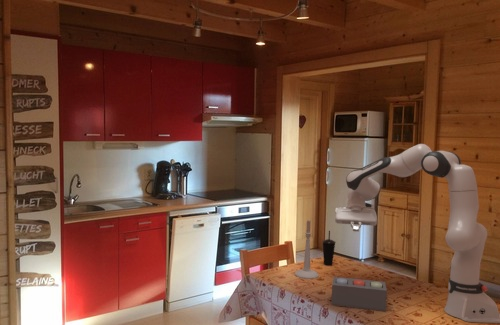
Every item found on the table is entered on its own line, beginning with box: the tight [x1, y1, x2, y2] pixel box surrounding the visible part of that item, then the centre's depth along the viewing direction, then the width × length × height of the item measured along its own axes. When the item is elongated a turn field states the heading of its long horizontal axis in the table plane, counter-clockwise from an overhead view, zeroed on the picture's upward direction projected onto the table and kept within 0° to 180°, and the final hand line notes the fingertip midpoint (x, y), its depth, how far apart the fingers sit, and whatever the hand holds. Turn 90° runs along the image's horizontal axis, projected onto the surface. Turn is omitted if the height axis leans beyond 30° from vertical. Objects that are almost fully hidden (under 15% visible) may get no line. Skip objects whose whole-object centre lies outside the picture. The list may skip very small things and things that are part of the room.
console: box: [330, 276, 388, 312], centre depth 192 cm, size 23×12×9 cm, turn 76°
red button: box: [353, 279, 365, 286], centre depth 192 cm, size 5×5×4 cm
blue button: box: [336, 277, 347, 284], centre depth 194 cm, size 5×5×4 cm
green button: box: [371, 282, 382, 288], centre depth 190 cm, size 5×5×4 cm
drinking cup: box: [321, 230, 336, 267], centre depth 251 cm, size 8×8×20 cm
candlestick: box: [294, 219, 319, 280], centre depth 230 cm, size 13×13×30 cm
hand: (355, 230), depth 210 cm, fingers closed
